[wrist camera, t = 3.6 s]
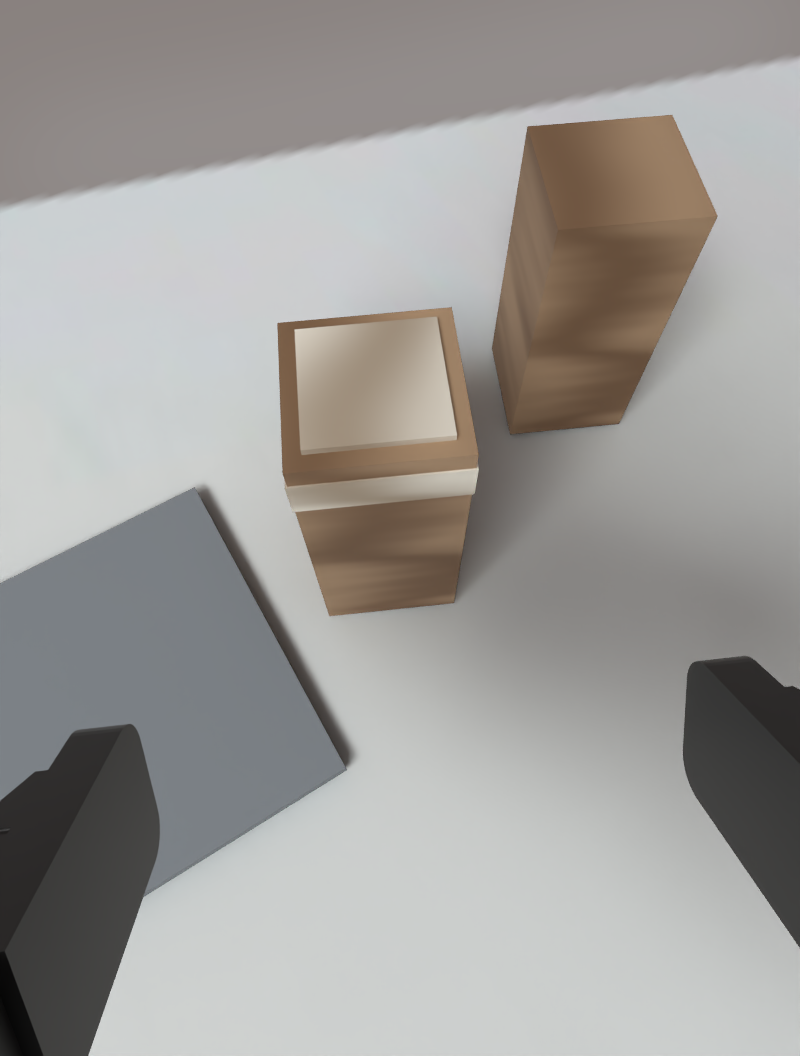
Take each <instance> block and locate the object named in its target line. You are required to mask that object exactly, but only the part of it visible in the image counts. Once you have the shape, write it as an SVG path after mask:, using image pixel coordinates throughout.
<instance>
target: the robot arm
mask: <svg viewBox="0 0 800 1056" xmlns="http://www.w3.org/2000/svg"><path fill="white" fill-rule="evenodd" d="M683 760H684V766H685V771H686V774H687V778H688V781H689V784H690V786H691V788H692V790H693V792H694V794H695V796H696V798H697V799H698V801H699V802H700V804H701V805H702V806H703V808H704V809H705V811H706V812H707V814H708V815H709V817H710V818H711V819H712V821H713V822H714V824H715V825H716V827H717V828H718V830H719V831H720V833H721V834H722V835H723V837H724V838H725V840H726V841H727V843H728V844H729V846H730V847H731V849H732V850H733V851H734V853H735V854H736V856H737V857H738V859H739V860H740V862H741V863H742V865H743V866H744V867H745V869H746V870H747V872H748V873H749V875H750V876H751V878H752V879H753V880H754V882H755V883H756V885H757V886H758V888H759V889H760V891H761V892H762V894H763V895H764V896H765V898H766V899H767V901H768V902H769V904H770V905H771V907H772V908H773V910H774V911H775V912H776V914H777V915H778V917H779V918H780V920H781V921H782V923H783V924H784V925H785V927H786V928H787V930H788V931H789V933H790V934H791V936H792V937H793V939H794V940H795V941H796V943H797V944H798V946H799V947H800V690H799V689H797V688H795V687H793V686H791V687H784V686H783V685H781V684H780V683H779V682H778V681H777V680H776V679H775V678H774V677H773V676H771V675H770V674H769V673H768V672H767V671H766V670H765V669H764V668H763V667H761V666H760V665H759V664H758V663H757V662H756V661H755V660H753V659H752V658H750V657H748V656H741V657H732V658H723V659H714V660H705V661H697V662H694V663H692V664H691V666H690V668H689V670H688V675H687V689H686V707H685V724H684V741H683ZM159 841H160V819H159V812H158V808H157V804H156V800H155V796H154V792H153V788H152V784H151V780H150V776H149V772H148V768H147V763H146V759H145V755H144V751H143V747H142V743H141V739H140V736H139V733H138V731H137V729H136V728H135V727H134V726H133V725H132V724H124V725H116V726H107V727H98V728H89V729H80V730H76V731H74V732H73V733H72V734H71V735H70V737H69V738H68V740H67V741H66V743H65V744H64V746H63V747H62V749H61V750H60V752H59V754H58V755H57V757H56V758H55V760H54V761H53V763H52V765H51V766H50V768H49V769H48V770H44V771H35V772H34V773H33V774H32V775H30V776H29V777H28V778H27V779H26V780H24V781H23V782H22V783H21V784H20V785H18V786H17V787H16V788H15V789H14V790H12V791H11V792H10V793H9V794H8V795H6V796H5V797H4V798H3V799H2V800H1V801H0V1056H88V1054H89V1052H90V1049H91V1046H92V1043H93V1040H94V1037H95V1034H96V1031H97V1029H98V1026H99V1023H100V1020H101V1017H102V1014H103V1011H104V1008H105V1005H106V1003H107V1000H108V997H109V994H110V991H111V988H112V985H113V982H114V980H115V977H116V974H117V971H118V968H119V965H120V962H121V959H122V957H123V954H124V951H125V948H126V945H127V942H128V939H129V936H130V933H131V931H132V928H133V925H134V922H135V919H136V916H137V913H138V910H139V908H140V905H141V902H142V899H143V896H144V893H145V890H146V887H147V885H148V882H149V879H150V876H151V873H152V870H153V867H154V864H155V861H156V858H157V854H158V849H159Z"/></svg>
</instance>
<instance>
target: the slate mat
mask: <svg viewBox="0 0 800 1056" xmlns="http://www.w3.org/2000/svg"><path fill="white" fill-rule="evenodd" d="M124 724H132V725H133V726H134V727H135V728H136V729H137V731H138V733H139V736H140V739H141V743H142V747H143V751H144V755H145V759H146V763H147V768H148V772H149V776H150V780H151V784H152V788H153V792H154V796H155V800H156V804H157V808H158V812H159V819H160V841H159V849H158V854H157V858H156V861H155V864H154V867H153V870H152V873H151V876H150V879H149V882H148V885H147V887H146V890H145V893H144V896H146V895H147V894H149V893H151V892H152V891H154V890H155V889H157V888H159V887H160V886H162V885H163V884H165V883H167V882H168V881H170V880H171V879H173V878H175V877H176V876H178V875H179V874H181V873H183V872H184V871H186V870H187V869H189V868H191V867H192V866H194V865H195V864H197V863H199V862H200V861H202V860H203V859H205V858H207V857H208V856H210V855H211V854H213V853H215V852H216V851H218V850H219V849H221V848H223V847H224V846H226V845H227V844H229V843H231V842H232V841H234V840H235V839H237V838H239V837H240V836H242V835H243V834H245V833H247V832H248V831H250V830H252V829H253V828H255V827H256V826H258V825H260V824H261V823H263V822H264V821H266V820H268V819H269V818H271V817H272V816H274V815H276V814H277V813H279V812H280V811H282V810H284V809H285V808H287V807H288V806H290V805H292V804H293V803H295V802H296V801H298V800H300V799H301V798H303V797H304V796H306V795H308V794H309V793H311V792H312V791H314V790H316V789H317V788H319V787H320V786H322V785H324V784H325V783H327V782H328V781H330V780H332V779H333V778H335V777H336V776H338V775H340V774H341V773H343V772H344V771H346V770H347V769H346V767H345V765H344V763H343V762H342V760H341V758H340V756H339V754H338V752H337V750H336V749H335V747H334V745H333V743H332V741H331V739H330V737H329V736H328V734H327V732H326V730H325V728H324V726H323V724H322V723H321V721H320V719H319V717H318V715H317V713H316V711H315V710H314V708H313V706H312V704H311V702H310V700H309V698H308V697H307V695H306V693H305V691H304V689H303V687H302V685H301V684H300V682H299V680H298V678H297V676H296V674H295V672H294V671H293V669H292V667H291V665H290V663H289V661H288V659H287V658H286V656H285V654H284V652H283V650H282V648H281V646H280V645H279V643H278V641H277V639H276V637H275V635H274V633H273V632H272V630H271V628H270V626H269V624H268V622H267V620H266V619H265V617H264V615H263V613H262V611H261V609H260V607H259V606H258V604H257V602H256V600H255V598H254V596H253V595H252V593H251V591H250V589H249V587H248V585H247V583H246V582H245V580H244V578H243V576H242V574H241V572H240V570H239V569H238V567H237V565H236V563H235V561H234V559H233V557H232V556H231V554H230V552H229V550H228V548H227V546H226V544H225V543H224V541H223V539H222V537H221V535H220V533H219V531H218V530H217V528H216V526H215V524H214V522H213V520H212V518H211V517H210V515H209V513H208V511H207V509H206V507H205V505H204V504H203V502H202V500H201V498H200V496H199V494H198V493H197V491H196V489H195V487H194V488H192V489H190V490H188V491H186V492H184V493H182V494H180V495H178V496H176V497H174V498H172V499H170V500H168V501H166V502H164V503H162V504H160V505H158V506H156V507H154V508H152V509H150V510H148V511H146V512H144V513H142V514H140V515H138V516H136V517H134V518H132V519H130V520H128V521H126V522H124V523H122V524H120V525H118V526H116V527H113V528H111V529H109V530H107V531H105V532H103V533H101V534H99V535H97V536H95V537H93V538H91V539H89V540H87V541H85V542H83V543H81V544H79V545H77V546H75V547H73V548H71V549H69V550H67V551H65V552H63V553H61V554H59V555H57V556H55V557H53V558H51V559H49V560H47V561H45V562H43V563H41V564H39V565H37V566H35V567H33V568H31V569H29V570H26V571H24V572H22V573H20V574H18V575H16V576H14V577H12V578H10V579H8V580H6V581H4V582H2V583H0V801H1V800H2V799H3V798H4V797H5V796H6V795H8V794H9V793H10V792H11V791H12V790H14V789H15V788H16V787H17V786H18V785H20V784H21V783H22V782H23V781H24V780H26V779H27V778H28V777H29V776H30V775H32V774H33V773H34V772H35V771H44V770H48V769H49V768H50V766H51V765H52V763H53V761H54V760H55V758H56V757H57V755H58V754H59V752H60V750H61V749H62V747H63V746H64V744H65V743H66V741H67V740H68V738H69V737H70V735H71V734H72V733H73V732H74V731H76V730H80V729H89V728H98V727H107V726H116V725H124ZM144 896H143V897H144Z"/></svg>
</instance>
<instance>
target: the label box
mask: <svg viewBox="0 0 800 1056" xmlns="http://www.w3.org/2000/svg"><path fill="white" fill-rule="evenodd" d="M278 352H279V381H280V409H281V438H282V467H283V476H284V479H285V490H286V493H287V496H288V499H289V502H290V505H291V508H292V511H293V512H295V513H296V516H297V519H298V522H299V525H300V528H301V531H302V534H303V537H304V540H305V543H306V546H307V549H308V552H309V555H310V558H311V561H312V564H313V567H314V570H315V573H316V577H317V580H318V583H319V586H320V589H321V592H322V595H323V598H324V601H325V604H326V607H327V610H328V613H329V616H335V615H344V614H354V613H363V612H373V611H382V610H392V609H401V608H411V607H420V606H430V605H439V604H449V603H454V599H455V593H456V587H457V581H458V575H459V569H460V563H461V557H462V551H463V545H464V539H465V533H466V527H467V522H468V516H469V510H470V504H471V498H472V494H475V489H476V483H477V478H478V472H479V468H478V456H479V453H478V448H477V442H476V437H475V432H474V426H473V421H472V415H471V410H470V404H469V399H468V394H467V388H466V383H465V377H464V372H463V366H462V361H461V355H460V350H459V345H458V339H457V334H456V328H455V323H454V317H453V312H452V307H451V308H439V309H428V310H417V311H406V312H395V313H384V314H373V315H362V316H351V317H340V318H328V319H317V320H306V321H295V322H284V323H278Z"/></svg>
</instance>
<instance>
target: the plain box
mask: <svg viewBox="0 0 800 1056" xmlns="http://www.w3.org/2000/svg"><path fill="white" fill-rule="evenodd" d="M716 219H717V214H716V212H715V209H714V207H713V205H712V203H711V200H710V198H709V196H708V194H707V192H706V189H705V187H704V185H703V183H702V180H701V178H700V176H699V174H698V171H697V169H696V167H695V165H694V162H693V160H692V158H691V156H690V154H689V151H688V149H687V147H686V145H685V142H684V140H683V138H682V136H681V133H680V131H679V129H678V127H677V124H676V122H675V120H674V118H673V115H665V116H653V117H640V118H628V119H615V120H603V121H590V122H578V123H566V124H553V125H541V126H528V127H527V133H526V139H525V146H524V152H523V158H522V164H521V171H520V177H519V183H518V189H517V195H516V202H515V208H514V214H513V220H512V227H511V233H510V239H509V245H508V252H507V258H506V264H505V270H504V277H503V283H502V289H501V295H500V302H499V308H498V314H497V320H496V327H495V333H494V339H493V345H492V351H493V355H494V360H495V365H496V370H497V374H498V379H499V384H500V388H501V393H502V398H503V403H504V407H505V412H506V417H507V422H508V426H509V431H510V434H517V433H528V432H538V431H548V430H559V429H569V428H580V427H590V426H600V425H611V424H619V422H620V420H621V418H622V416H623V414H624V412H625V410H626V407H627V405H628V403H629V401H630V399H631V397H632V395H633V393H634V391H635V389H636V386H637V384H638V382H639V380H640V378H641V376H642V374H643V372H644V370H645V368H646V366H647V363H648V361H649V359H650V357H651V355H652V353H653V351H654V349H655V347H656V345H657V342H658V340H659V338H660V336H661V334H662V332H663V330H664V328H665V326H666V324H667V321H668V319H669V317H670V315H671V313H672V311H673V309H674V307H675V305H676V303H677V300H678V298H679V296H680V294H681V292H682V290H683V288H684V286H685V284H686V282H687V279H688V277H689V275H690V273H691V271H692V269H693V267H694V265H695V263H696V261H697V258H698V256H699V254H700V252H701V250H702V248H703V246H704V244H705V242H706V240H707V237H708V235H709V233H710V231H711V229H712V227H713V225H714V223H715V221H716Z"/></svg>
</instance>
